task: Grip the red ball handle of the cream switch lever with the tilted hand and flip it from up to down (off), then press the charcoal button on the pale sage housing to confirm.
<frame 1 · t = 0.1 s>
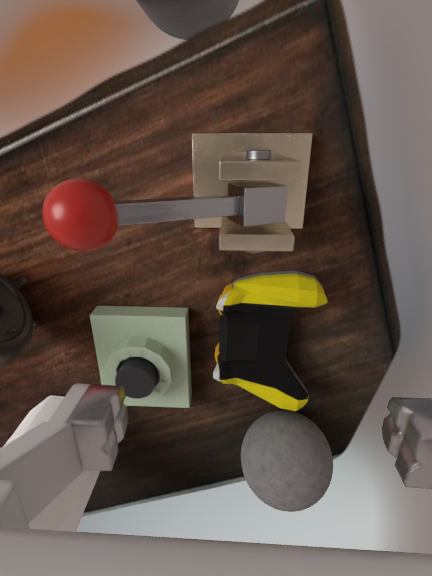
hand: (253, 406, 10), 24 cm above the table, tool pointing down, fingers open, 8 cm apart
alarm clock: (13, 286, 36), on the table
confirm button: (136, 377, 35), point 4 cm above the table, slide at 0.1 cm
cup: (72, 425, 44), on the table
button box: (147, 352, 39), on the table
switch lever: (173, 209, 19), point 13 cm above the table, hinge at 25.0°
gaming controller: (262, 324, 37), on the table
decorative ball: (279, 422, 42), on the table
switch bracket: (249, 181, 31), on the table
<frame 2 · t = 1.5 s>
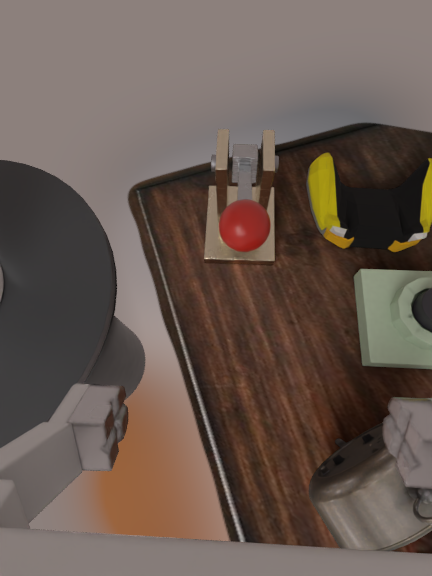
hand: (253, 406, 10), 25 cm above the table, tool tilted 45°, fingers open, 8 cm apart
alarm clock: (349, 461, 32), on the table
button box: (414, 321, 36), on the table
switch lever: (244, 191, 27), point 13 cm above the table, hinge at 25.0°
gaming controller: (363, 217, 41), on the table
switch bracket: (240, 226, 41), on the table
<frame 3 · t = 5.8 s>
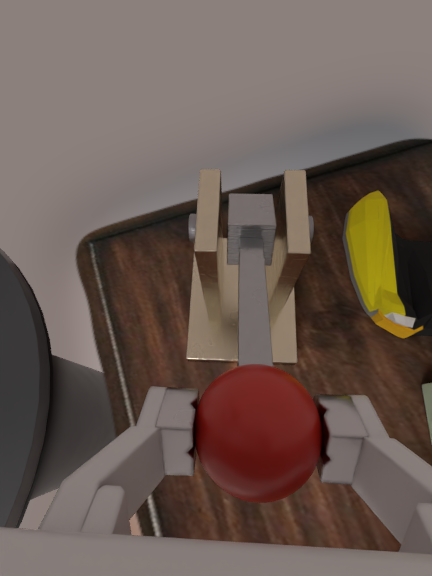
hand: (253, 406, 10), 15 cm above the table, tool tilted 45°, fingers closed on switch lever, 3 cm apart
switch lever: (252, 305, 13), point 13 cm above the table, hinge at 25.0°, touching gripper
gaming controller: (427, 283, 27), on the table
switch bracket: (241, 300, 27), on the table
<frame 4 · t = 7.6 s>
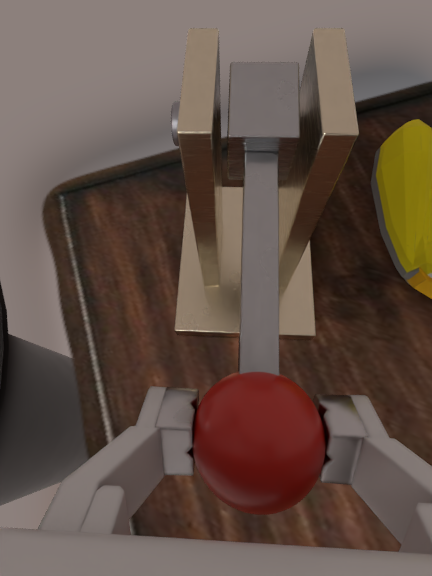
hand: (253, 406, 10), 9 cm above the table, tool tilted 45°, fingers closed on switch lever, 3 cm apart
switch lever: (258, 269, 10), point 10 cm above the table, hinge at -7.4°, touching gripper
switch bracket: (244, 262, 22), on the table
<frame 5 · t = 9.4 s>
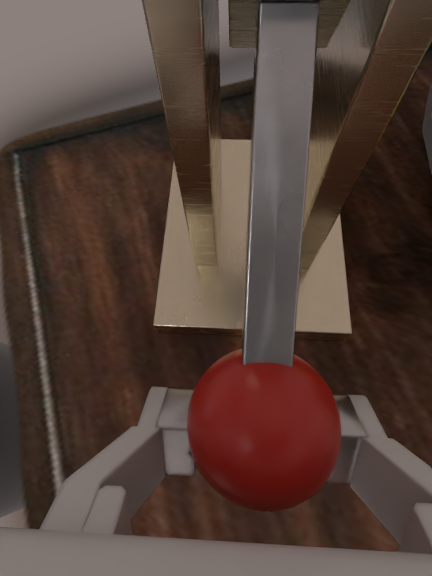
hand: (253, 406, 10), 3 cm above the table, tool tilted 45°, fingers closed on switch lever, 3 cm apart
switch lever: (273, 218, 7), point 8 cm above the table, hinge at -32.4°, touching gripper
switch bracket: (251, 236, 16), on the table
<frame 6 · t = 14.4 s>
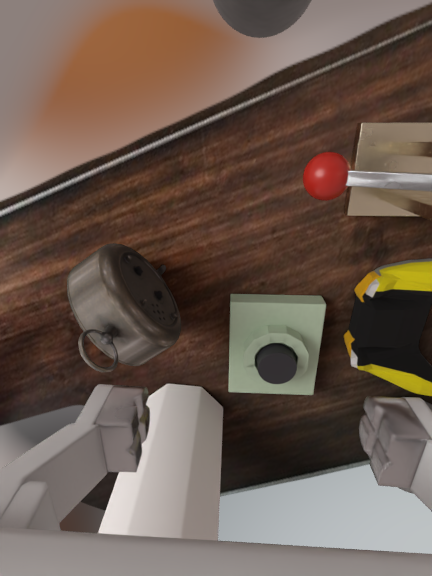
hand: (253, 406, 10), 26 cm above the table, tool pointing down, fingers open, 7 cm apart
alarm clock: (149, 274, 37), on the table
confirm button: (276, 363, 35), point 4 cm above the table, slide at 0.1 cm
cup: (183, 413, 45), on the table
button box: (272, 340, 40), on the table
switch lever: (394, 180, 24), point 8 cm above the table, hinge at -30.4°
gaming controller: (391, 312, 38), on the table
switch bracket: (404, 170, 31), on the table
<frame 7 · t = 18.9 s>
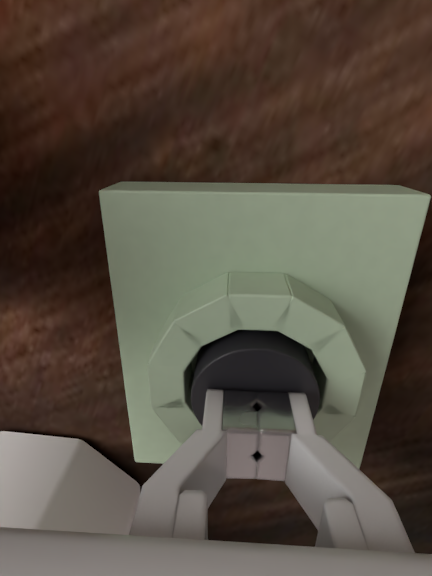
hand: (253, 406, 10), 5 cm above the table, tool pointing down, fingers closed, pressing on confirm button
confirm button: (253, 383, 11), point 4 cm above the table, slide at -0.7 cm, touching gripper
cup: (55, 492, 20), on the table
button box: (249, 327, 15), on the table
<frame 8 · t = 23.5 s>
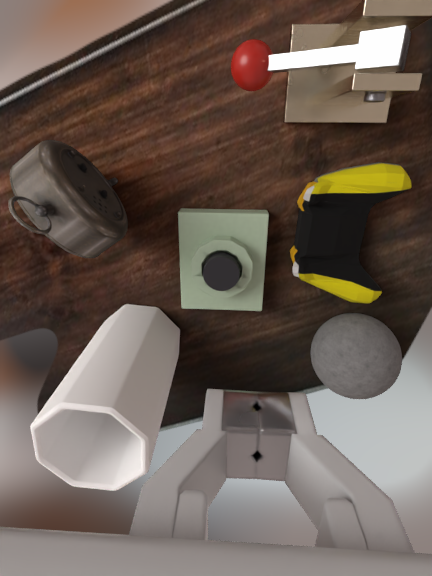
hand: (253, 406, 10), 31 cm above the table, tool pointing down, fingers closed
alarm clock: (103, 189, 39), on the table
confirm button: (221, 271, 37), point 4 cm above the table, slide at 0.1 cm
cup: (142, 337, 47), on the table
button box: (222, 258, 41), on the table
switch lever: (308, 59, 26), point 8 cm above the table, hinge at -30.4°
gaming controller: (334, 228, 39), on the table
decorative ball: (341, 331, 45), on the table
switch bracket: (338, 77, 33), on the table
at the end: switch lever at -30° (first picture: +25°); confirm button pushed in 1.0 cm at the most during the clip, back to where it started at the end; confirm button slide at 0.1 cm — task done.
